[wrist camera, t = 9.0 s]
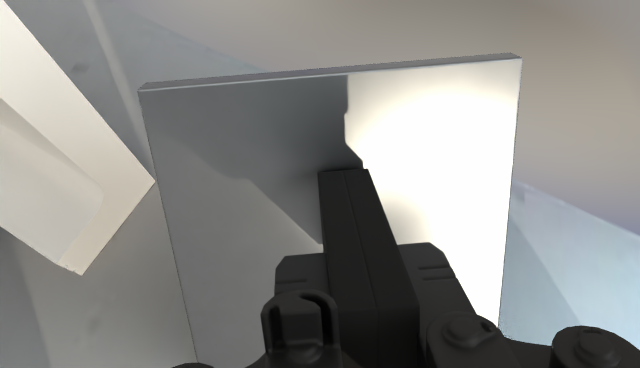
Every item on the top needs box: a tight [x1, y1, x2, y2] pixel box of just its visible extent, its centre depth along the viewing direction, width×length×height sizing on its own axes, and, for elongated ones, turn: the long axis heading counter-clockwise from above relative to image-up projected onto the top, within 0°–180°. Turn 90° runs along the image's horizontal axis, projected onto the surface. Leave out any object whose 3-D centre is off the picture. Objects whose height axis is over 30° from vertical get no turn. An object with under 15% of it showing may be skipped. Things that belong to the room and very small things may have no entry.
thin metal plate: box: [138, 53, 523, 368], centre depth 17 cm, size 12×11×1 cm
